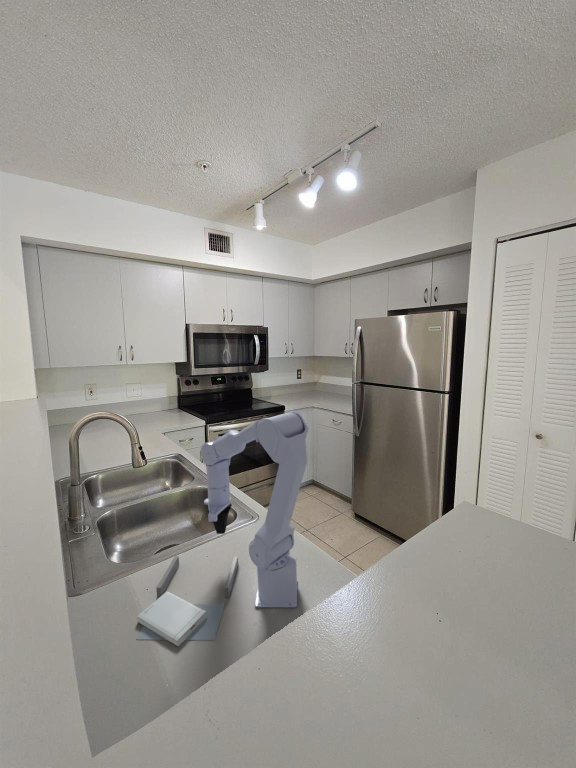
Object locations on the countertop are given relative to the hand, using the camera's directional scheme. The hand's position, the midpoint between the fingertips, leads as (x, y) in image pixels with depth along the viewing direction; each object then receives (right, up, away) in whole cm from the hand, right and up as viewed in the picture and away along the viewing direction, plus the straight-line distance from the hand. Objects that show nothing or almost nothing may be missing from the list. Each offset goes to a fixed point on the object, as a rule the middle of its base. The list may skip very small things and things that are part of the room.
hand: (221, 532), depth 88 cm
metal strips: (-4, -9, -6) cm, 12 cm away
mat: (-4, -11, -18) cm, 22 cm away
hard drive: (-7, -11, -18) cm, 22 cm away
